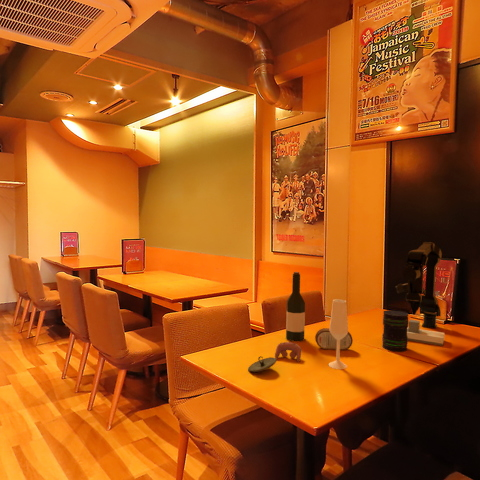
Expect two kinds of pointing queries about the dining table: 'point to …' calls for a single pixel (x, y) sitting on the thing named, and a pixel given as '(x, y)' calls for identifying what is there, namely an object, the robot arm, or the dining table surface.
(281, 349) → the video game controller
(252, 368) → the lid
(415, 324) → the plug
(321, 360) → the dining table surface
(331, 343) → the tin
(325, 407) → the dining table surface
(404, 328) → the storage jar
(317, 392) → the dining table surface
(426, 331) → the cream socket panel
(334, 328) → the champagne flute
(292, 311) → the wine bottle
